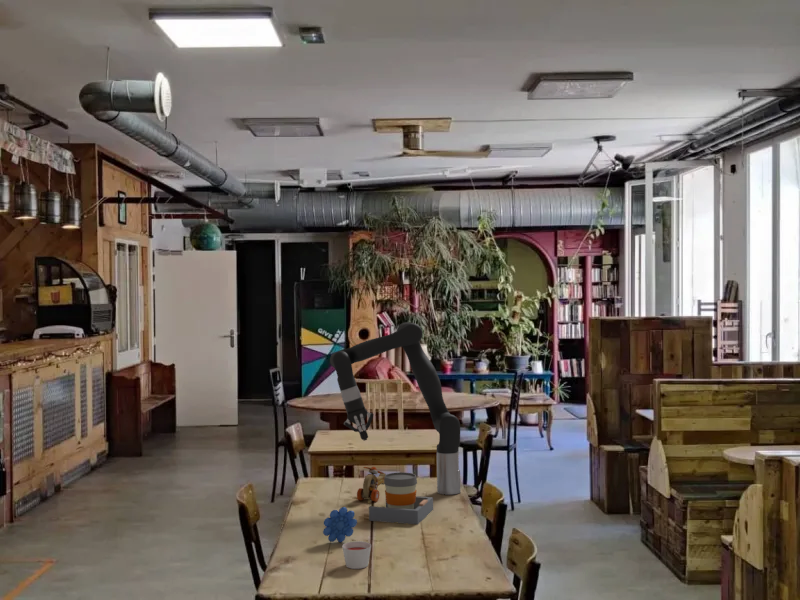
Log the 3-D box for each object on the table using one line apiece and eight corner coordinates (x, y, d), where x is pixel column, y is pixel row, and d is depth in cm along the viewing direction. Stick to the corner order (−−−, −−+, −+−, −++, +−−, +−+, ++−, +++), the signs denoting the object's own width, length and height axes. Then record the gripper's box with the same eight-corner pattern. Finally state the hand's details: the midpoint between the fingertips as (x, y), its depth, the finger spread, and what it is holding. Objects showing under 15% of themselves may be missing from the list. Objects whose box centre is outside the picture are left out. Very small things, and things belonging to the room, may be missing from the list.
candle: (356, 559, 263) (355, 539, 263) (377, 564, 257) (377, 544, 257) (336, 566, 256) (336, 546, 256) (357, 572, 250) (357, 551, 250)
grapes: (356, 537, 286) (355, 503, 286) (357, 543, 279) (357, 508, 279) (322, 539, 284) (322, 504, 284) (323, 545, 278) (322, 509, 278)
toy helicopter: (355, 502, 334) (354, 468, 334) (375, 490, 353) (375, 458, 353) (374, 503, 331) (373, 469, 331) (393, 491, 350) (392, 459, 350)
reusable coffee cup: (417, 510, 319) (417, 472, 319) (417, 519, 307) (416, 479, 307) (385, 510, 320) (384, 472, 320) (383, 519, 307) (383, 479, 307)
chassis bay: (369, 520, 307) (368, 505, 307) (387, 506, 326) (386, 492, 326) (417, 524, 301) (417, 508, 301) (433, 510, 320) (432, 495, 319)
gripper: (337, 404, 327) (350, 446, 326) (368, 393, 329) (382, 435, 329) (335, 403, 334) (348, 444, 334) (366, 393, 337) (379, 434, 336)
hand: (365, 439), depth 331 cm, fingers closed
